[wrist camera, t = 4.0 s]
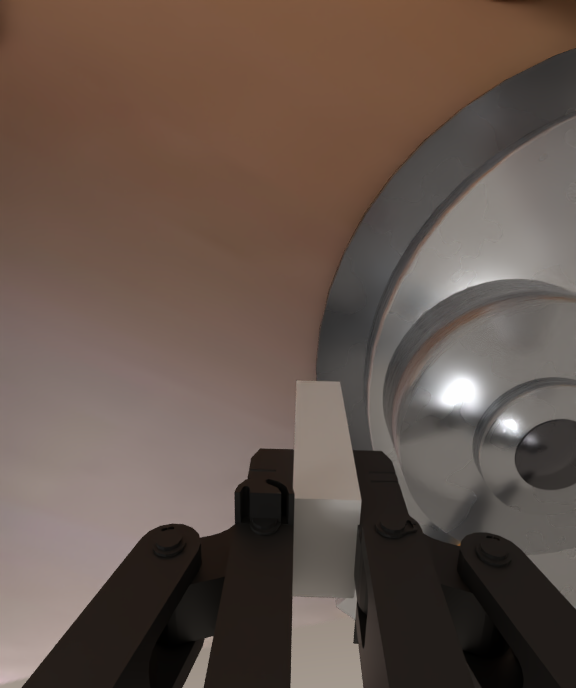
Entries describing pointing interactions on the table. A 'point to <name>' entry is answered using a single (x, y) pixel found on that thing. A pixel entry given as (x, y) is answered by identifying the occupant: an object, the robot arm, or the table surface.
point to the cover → (490, 413)
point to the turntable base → (425, 214)
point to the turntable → (481, 276)
